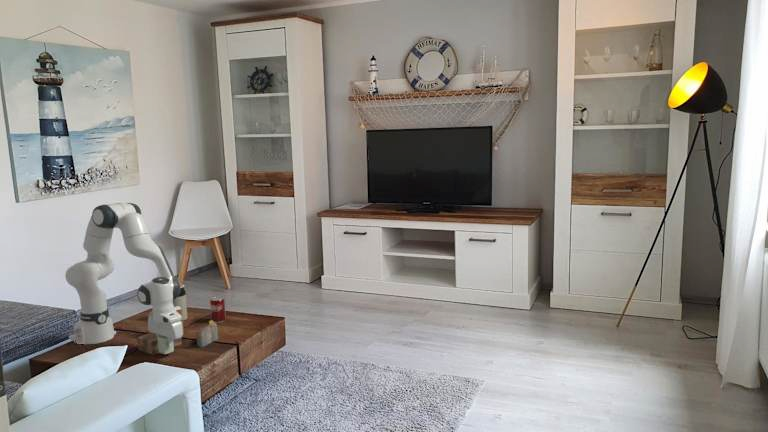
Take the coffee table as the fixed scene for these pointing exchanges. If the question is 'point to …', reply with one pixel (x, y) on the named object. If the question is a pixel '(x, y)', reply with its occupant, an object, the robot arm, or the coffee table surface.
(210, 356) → the coffee table surface
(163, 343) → the sage block
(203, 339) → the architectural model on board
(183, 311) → the travel mug
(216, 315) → the soda can
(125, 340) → the coffee table surface
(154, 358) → the coffee table surface
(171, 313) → the robot arm
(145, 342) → the crate
